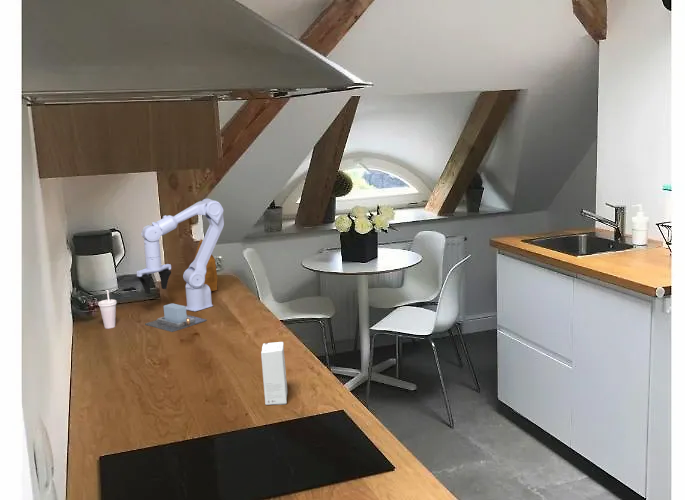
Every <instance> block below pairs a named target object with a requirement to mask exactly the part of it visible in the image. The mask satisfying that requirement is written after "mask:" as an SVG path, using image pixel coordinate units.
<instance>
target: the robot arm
mask: <svg viewBox="0 0 685 500" xmlns="http://www.w3.org/2000/svg"><path fill="white" fill-rule="evenodd" d="M197 215H198V216H205V217H206V219H207V221H208V223H209V225H208V228H207V230H206V233H205V234H204V237H203V239H202V240H203V241H202V244H201V246H200V248H199V250H198V253H197V255H196V257H195V256H194V259H193V261H192V262H191V263H189V266H188V268H187V269H185V271H184V272H183V275H182V277H183V281H184V282H185V283H186V284H185V286H184V287H185V297H186V305H185V306H186V311H191V312H197V311H201V310H205V309H207V308H211V307H213V306H214V304H213V303H212V302H213V301H212V291H211V290H210V287H209V286H208V285H207V284H204V282H205V274H206V265H207V263H208V261H209V259H210V256H211V254H212V255H213V251H214V249H215V247H216V245H217V242H218V240H219V238H220V237H221V236H220V235H221V234H222V231H223V229H224V225H225V221H224V220H225V219H224V208H223V206H222V204H221V203H220V202H219V201H218V200H213V199H211V198H204V199H202V200H199V201H197V202H195V203H194V204H191V205H190V206H188V207H187V208H185V209H183V210H182V211H180V212H179V213H177V214H175V215H170V214H169V215H166V214H165V215H163V216H162V218H161V219H159V220H157V221H152V222H151V224H148V225H145V226H143V228H142V230H141V233H140V235H141V236H142V238H143V243H144V245H143V247H144V249H143V250H144V257H145V268H143V269H139V270H136V277H137V279H138V280H139V282H140V283H141V285H142V287H143V290H144V292H145V294H147V295H148V294H151V279H152V277H151V276H149V275H150V274H151V275H152V274H155V273H158V275H159V278H160V285H161V289H163V290H167V287H168V282H169V279H170V277H171V275H172V265H171V263H170V264H169V263H166V264H162V257H161V256H162V255H161V246H160V245H161V244H160V238H161V237H162V236H164V235H167V234H168V233H170V232H171V231H173V230H175V229H177V228H178V224H180V223H182V222H184V221H186V220H188V219H190V218H192V217H195V216H197Z"/></svg>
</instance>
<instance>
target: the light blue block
mask: <svg viewBox="0 0 685 500" xmlns="http://www.w3.org/2000/svg"><path fill="white" fill-rule="evenodd" d="M186 306H187V305H182V304H176V303H168V304H165V305H163V314H164V315H163V317H165V320H169V321H173V322H177V323H179V322H182V321H185V320H186V318H187V315H188V314H187V310H186Z"/></svg>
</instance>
